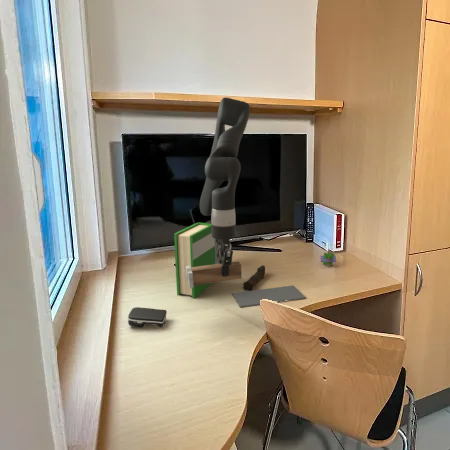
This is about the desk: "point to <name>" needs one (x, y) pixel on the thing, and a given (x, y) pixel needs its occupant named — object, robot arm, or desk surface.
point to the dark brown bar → (254, 279)
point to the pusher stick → (212, 274)
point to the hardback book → (193, 255)
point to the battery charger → (146, 317)
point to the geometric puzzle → (328, 258)
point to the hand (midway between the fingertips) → (224, 273)
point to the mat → (267, 295)
